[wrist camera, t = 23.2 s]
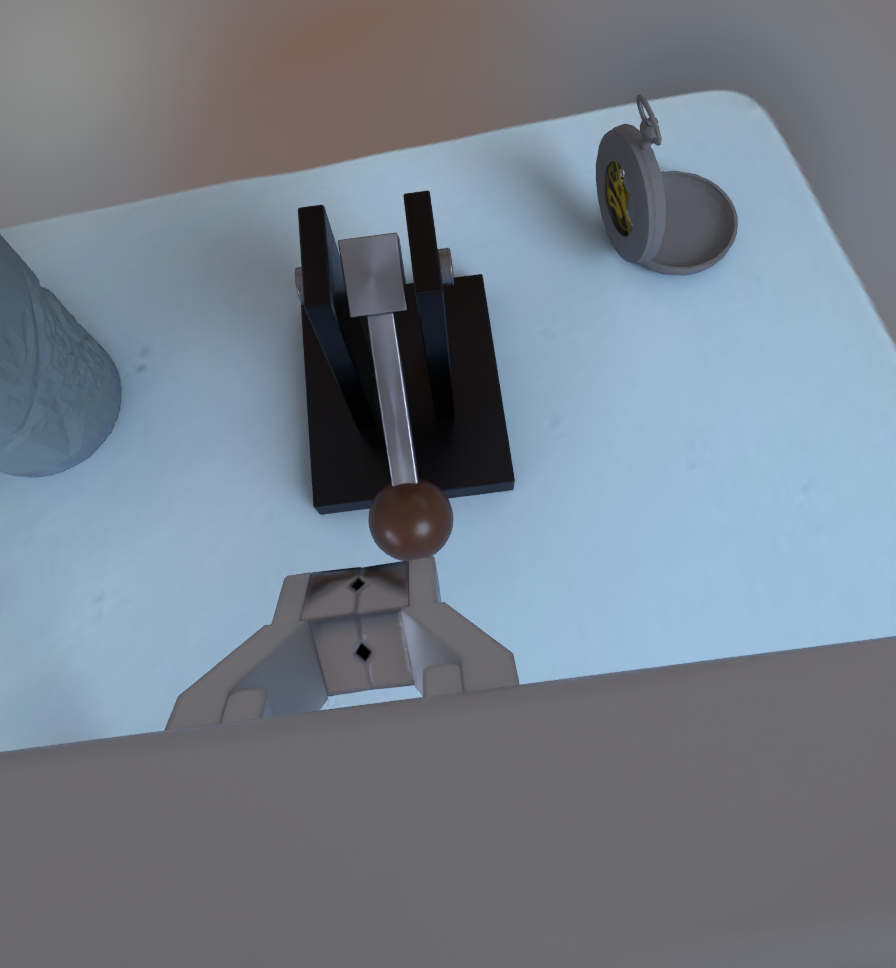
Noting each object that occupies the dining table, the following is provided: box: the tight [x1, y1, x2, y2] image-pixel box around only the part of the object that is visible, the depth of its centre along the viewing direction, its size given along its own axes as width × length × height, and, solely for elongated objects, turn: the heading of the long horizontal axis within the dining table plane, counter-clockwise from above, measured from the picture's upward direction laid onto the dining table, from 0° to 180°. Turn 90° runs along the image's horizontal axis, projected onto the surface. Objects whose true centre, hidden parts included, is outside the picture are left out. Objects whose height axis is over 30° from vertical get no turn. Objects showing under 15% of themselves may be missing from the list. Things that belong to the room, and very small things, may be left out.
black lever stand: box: [295, 191, 515, 515], centre depth 32 cm, size 12×10×13 cm
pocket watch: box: [596, 95, 738, 275], centre depth 36 cm, size 8×8×10 cm
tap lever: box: [338, 233, 453, 561], centre depth 29 cm, size 13×4×4 cm, turn 6°
